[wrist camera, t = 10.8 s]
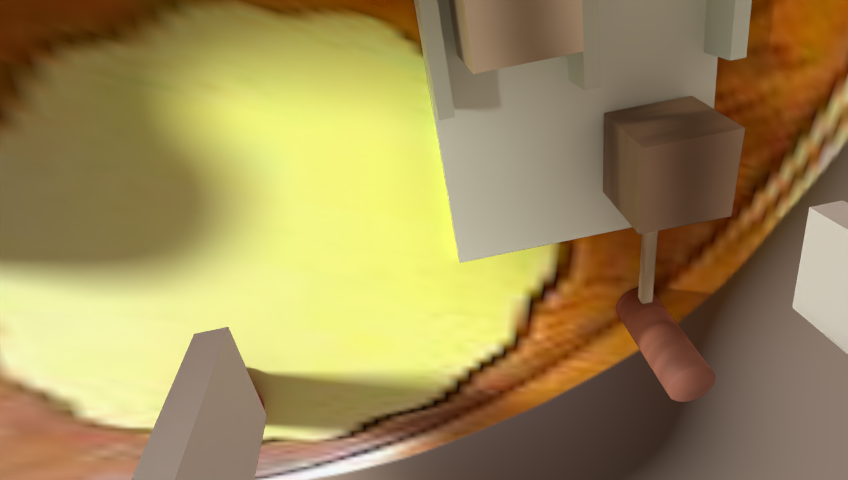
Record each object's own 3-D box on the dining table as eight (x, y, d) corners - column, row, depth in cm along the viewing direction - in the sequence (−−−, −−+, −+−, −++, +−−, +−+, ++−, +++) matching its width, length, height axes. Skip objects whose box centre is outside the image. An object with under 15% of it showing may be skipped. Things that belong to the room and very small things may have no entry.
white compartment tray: (458, 256, 43) (466, 283, 39) (395, -104, 31) (400, -110, 28) (699, 206, 43) (729, 229, 39) (724, -171, 31) (769, -186, 28)
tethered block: (600, 326, 48) (648, 409, 40) (603, 112, 37) (668, 170, 30) (669, 312, 48) (729, 392, 40) (691, 95, 37) (779, 148, 30)
